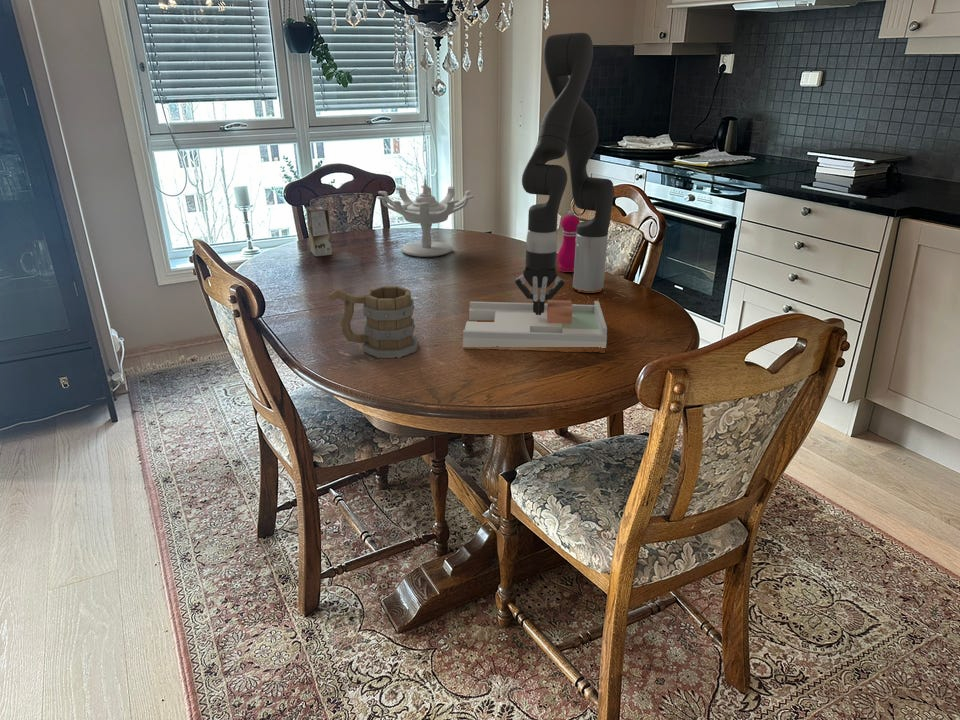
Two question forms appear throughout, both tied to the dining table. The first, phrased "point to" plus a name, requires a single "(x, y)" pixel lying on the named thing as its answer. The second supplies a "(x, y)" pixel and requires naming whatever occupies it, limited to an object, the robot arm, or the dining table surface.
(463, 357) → the dining table surface
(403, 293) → the tankard
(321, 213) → the coffee box
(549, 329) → the box
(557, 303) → the block
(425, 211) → the candelabra
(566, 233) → the pepper mill
